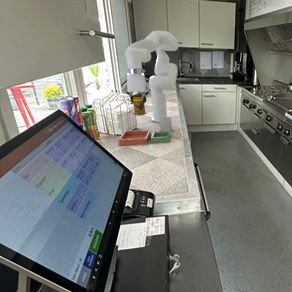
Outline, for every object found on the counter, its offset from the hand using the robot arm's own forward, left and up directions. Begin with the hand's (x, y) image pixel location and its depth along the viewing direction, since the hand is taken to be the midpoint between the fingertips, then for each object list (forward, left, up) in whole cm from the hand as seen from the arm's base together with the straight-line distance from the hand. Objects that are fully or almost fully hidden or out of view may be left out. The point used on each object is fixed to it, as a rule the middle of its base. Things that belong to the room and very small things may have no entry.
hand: (138, 102), depth 143 cm
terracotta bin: (+14, -1, -19) cm, 24 cm away
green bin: (+15, +13, -19) cm, 28 cm away
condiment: (0, 0, -7) cm, 7 cm away
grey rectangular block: (0, +15, -19) cm, 25 cm away
